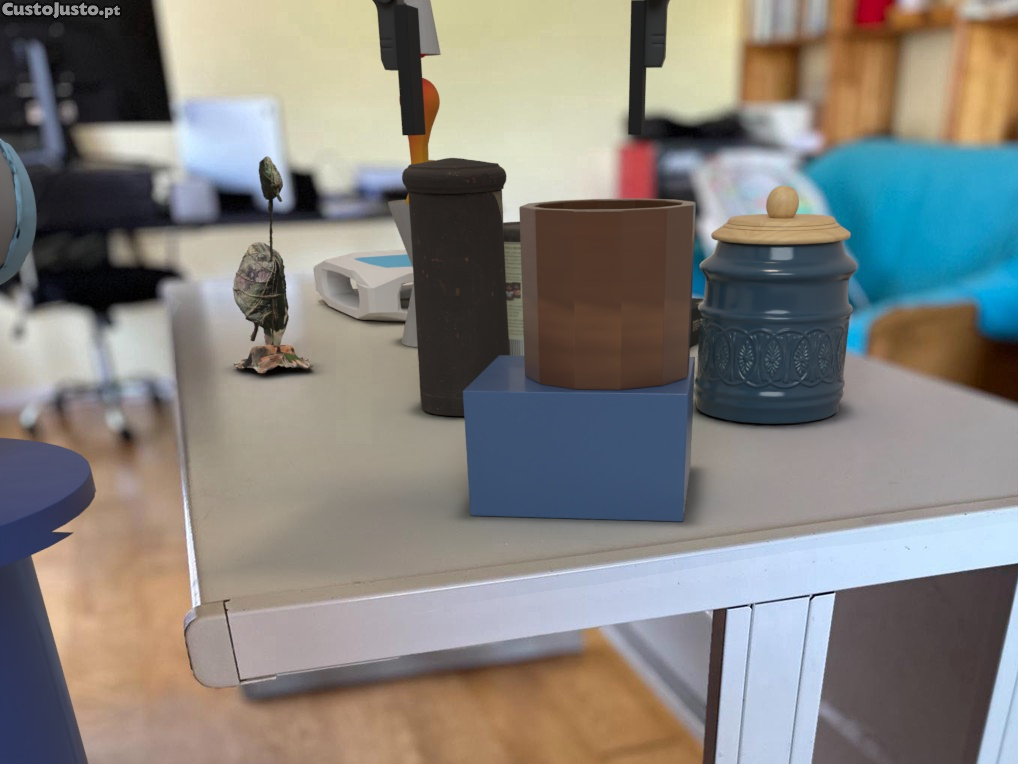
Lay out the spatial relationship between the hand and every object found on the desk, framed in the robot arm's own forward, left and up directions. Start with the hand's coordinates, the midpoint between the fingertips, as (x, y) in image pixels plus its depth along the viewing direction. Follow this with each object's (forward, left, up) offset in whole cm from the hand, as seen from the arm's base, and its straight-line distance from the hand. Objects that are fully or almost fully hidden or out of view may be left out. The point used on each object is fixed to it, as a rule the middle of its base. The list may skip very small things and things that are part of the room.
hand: (523, 135), depth 66 cm
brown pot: (+5, 0, -14) cm, 15 cm away
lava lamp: (-21, +59, -22) cm, 66 cm away
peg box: (+4, 0, -22) cm, 22 cm away
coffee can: (-5, +38, -22) cm, 44 cm away
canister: (+17, +26, -22) cm, 38 cm away
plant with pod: (-35, +42, -22) cm, 59 cm away
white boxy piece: (-31, +86, -22) cm, 94 cm away
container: (-10, +25, -22) cm, 35 cm away
